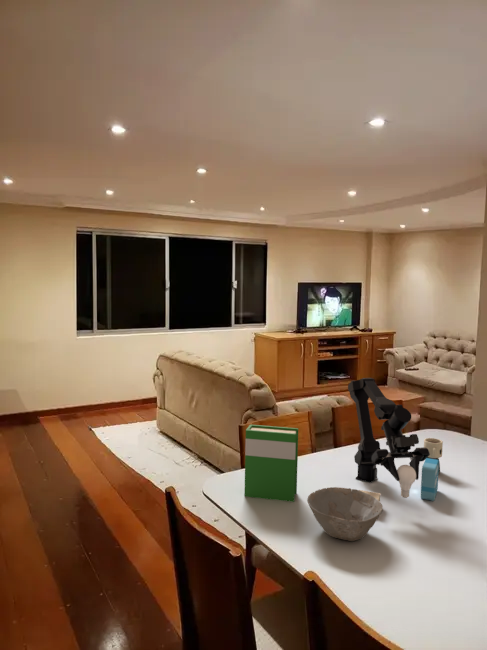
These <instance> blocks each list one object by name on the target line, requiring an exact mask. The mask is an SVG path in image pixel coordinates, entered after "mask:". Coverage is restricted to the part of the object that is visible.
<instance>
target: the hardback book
mask: <svg viewBox="0 0 487 650" xmlns="http://www.w3.org/2000/svg"><path fill="white" fill-rule="evenodd" d="M244 441H245V449H244V451H245V454H244V455H245V457H244V495H243V496H244V497H245V498H246V497H247V498H257V499H265V500H275V501H284V502H290V503H291V502H293V503H294V502H295V497H296V496H295V495H297V492H298V491H297V489H298V488H297V487H298V459H299V458H298V455H299V453H298V452H299V428H297V427H287V426H275V425H274V426H271V425H259V424H249V425H248V427H247V428H246V429H245V440H244Z"/></svg>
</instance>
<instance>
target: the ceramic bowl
mask: <svg viewBox="0 0 487 650" xmlns="http://www.w3.org/2000/svg"><path fill="white" fill-rule="evenodd" d="M360 490H361V489H356V488H355V489H354V488H353V489H351V488H347V487H346V488H345V487H339V486H335V487H327V488H326V487H324V488H320V489H317V490H315V491H312V492H311V493H310V494H309V495H308V496H307V499H306V501H307V503H308V506H309V508H310V510H311V513H312V514H313V516H314V518H315V519H316V522H318V524H319V525H320V527H321V528H322V530H323V531H324V532H325V533H326V534H327V535H329V536H330V537H332V538H336V539H337V540H338V539H340V540H343V541H349V542H354V541H358V540H360V539H363V538H364V536H366V535H367V534H368V533H369V531H370V529H372V528H373V526H374V525H375V523H376V522H377V520H378V519H379V517H380V515H381V513H382V512H383V509H384V508H383V507H384V506H383V504H382V502H381V501H380V502H379V501H378V500H377V499H376V498H375V497H373V496H371V495H369V494H367V493H364V492H362V491H360Z"/></svg>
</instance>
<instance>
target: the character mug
mask: <svg viewBox="0 0 487 650" xmlns="http://www.w3.org/2000/svg"><path fill="white" fill-rule="evenodd" d="M443 443H444V441H443V440H441V439H438V438H435V437H433V438H432V437H427V438H424V440H423V447H426V448H427V449H428V450H429V452H430V455H429V456H428V457H427V458H430V459H436V460H439V472H438V474H440V472H441V463H440V458H442V456H443V445H444V444H443Z"/></svg>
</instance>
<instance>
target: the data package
mask: <svg viewBox="0 0 487 650" xmlns="http://www.w3.org/2000/svg"><path fill="white" fill-rule="evenodd" d="M439 462H440V459H439V460H436V459H430V458H426V459H425V460H424V461H423V464H422V466H421V476H420V477H421V481H420V482H421V483H420V499H422V500H426V501H427V500H428V501H432V502H433V501H435V499H436V496H437V493H438V490H439V489H438V488H439V487H438V485H439V473H440V472H439ZM438 472H439V473H438Z"/></svg>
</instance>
